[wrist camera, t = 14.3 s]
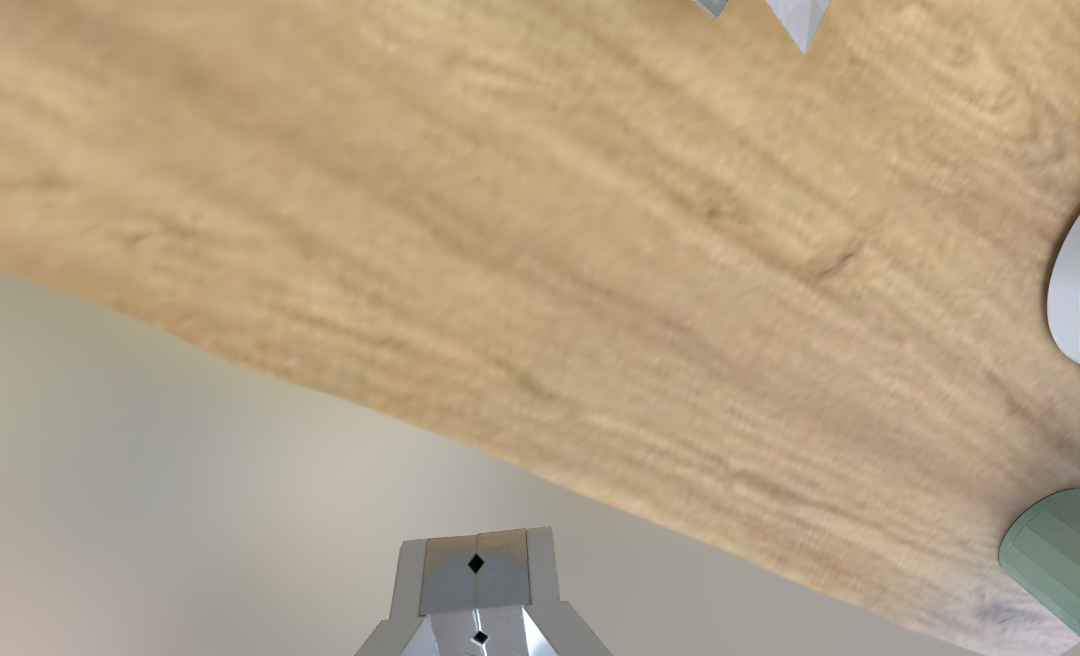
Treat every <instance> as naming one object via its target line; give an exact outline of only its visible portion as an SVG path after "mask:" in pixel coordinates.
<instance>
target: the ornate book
mask: <svg viewBox="0 0 1080 656" xmlns="http://www.w3.org/2000/svg"><path fill="white" fill-rule="evenodd" d="M692 1H693V2H694V3H695V4H696V5H697V6H699V7H700V8H701V9H702V10H703V11H705V12H706V13H707V14H708V15H709V16H711V17H712V18H713V19H716V18H718V16H719V14H720V13H721V11H722V10H723V8H724V6H725V5H726V3H727V2H728V0H692ZM766 2H767V3H768V5H769V6H770V7H771V9H772V10H773V12H774V13H775V15H776V16H777V18H778V19H779V20H780V22H781V23H782V25H783V26H784V27H785V29H786V30H787V32H788V33H789V34H790V36H791V37H792V39H793V40H794V41H795V43H796V44H797V46H798V47H799V48H800V50H801V51H802V53H803V54H804V55H805V54H806V52H807V50H808V48H809V45H810V43H811V41H812V39H813V37H814V34H815V32H816V30H817V28H818V26H819V24H820V21H821V19H822V17H823V15H824V13H825V11H826V8H827V6H828V4H829V2H830V0H766Z"/></svg>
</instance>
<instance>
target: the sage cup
mask: <svg viewBox="0 0 1080 656" xmlns="http://www.w3.org/2000/svg"><path fill="white" fill-rule="evenodd" d="M999 562H1000V565H1001V567H1002V569H1003V570H1004V571H1005V572H1006V573H1007V574H1008V575H1009V576H1010V577H1011V578H1013V579H1014V580H1015V581H1016V582H1017V583H1018V584H1019V585H1021V586H1022V587H1023V588H1024V589H1025V590H1026V591H1028V592H1029V593H1030V594H1031V595H1032V596H1033V597H1034V598H1036V599H1037V600H1038V601H1039V602H1040V603H1041V604H1043V605H1044V606H1045V607H1046V608H1047V609H1048V610H1049V611H1051V612H1052V613H1053V614H1054V615H1055V616H1056V617H1058V618H1059V619H1060V620H1061V621H1062V622H1063V623H1065V624H1066V625H1067V626H1068V627H1069V628H1070V629H1071V630H1073V631H1074V632H1075V633H1076V634H1077V635H1078V636H1080V488H1074V489H1068V490H1064V491H1061V492H1058V493H1055V494H1053V495H1050V496H1048V497H1046V498H1045V499H1043V500H1041V501H1039V502H1038V503H1036V504H1035V505H1033V506H1032V507H1031V508H1029V509H1028V510H1027V511H1026V512H1025V513H1023V514H1022V515H1021V516H1020V517H1019V518H1018V519H1017V520H1016V521H1015V523H1014V524H1013V525H1012V526H1011V528H1010V529H1009V530H1008V532H1007V533H1006V535H1005V537H1004V539H1003V541H1002V544H1001V547H1000V550H999Z"/></svg>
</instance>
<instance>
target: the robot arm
mask: <svg viewBox="0 0 1080 656" xmlns="http://www.w3.org/2000/svg"><path fill="white" fill-rule="evenodd" d="M1047 317H1048V323H1049V328H1050V331H1051V334H1052V337H1053V339H1054V341H1055V343H1056V344H1057V346H1058V347H1059V348H1060V350H1061V351H1062V352H1063V353H1064V354H1065V355H1066V356H1068V357H1069V358H1070V359H1072V360H1073V361H1075V362H1077V363H1078V364H1080V215H1079V217H1078V218H1077V220H1076V221H1075V223H1074V225H1073V226H1072V228H1071V230H1070V231H1069V233H1068V235H1067V237H1066V239H1065V241H1064V243H1063V245H1062V248H1061V250H1060V252H1059V255H1058V257H1057V260H1056V262H1055V265H1054V268H1053V272H1052V275H1051V279H1050V284H1049V289H1048V297H1047ZM526 533H527V534H526ZM354 656H613V655H612V654H611V653H610V651H609V650H608V649H607V648H606V647H605V645H604V644H603V643H602V642H601V641H600V639H599V638H598V637H597V636H596V635H595V633H594V632H593V631H592V630H591V629H590V627H589V626H588V625H587V624H586V623H585V621H584V620H583V619H582V618H581V617H580V615H579V614H578V613H577V612H576V610H575V609H574V608H573V607H572V606H571V604H570V603H569V602H568V601H560V595H559V586H558V577H557V570H556V561H555V551H554V542H553V534H552V529H551V527H550V526H549V527H540V528H530V529H525V528H524V529H515V530H506V531H498V532H490V533H480V534H478V535H471V536H457V537H443V538H430V539H418V540H408V541H403V544H402V546H401V548H400V552H399V559H398V565H397V572H396V578H395V585H394V591H393V597H392V604H391V610H390V617H389V620H382V621H381V622H380V623H379V625H378V626H377V627H376V629H375V630H374V631H373V632H372V634H371V635H370V636H369V637H368V639H367V640H366V641H365V642H364V644H363V645H362V646H361V648H360V649H359V650H358V652H357V653H356V654H355V655H354Z"/></svg>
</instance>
